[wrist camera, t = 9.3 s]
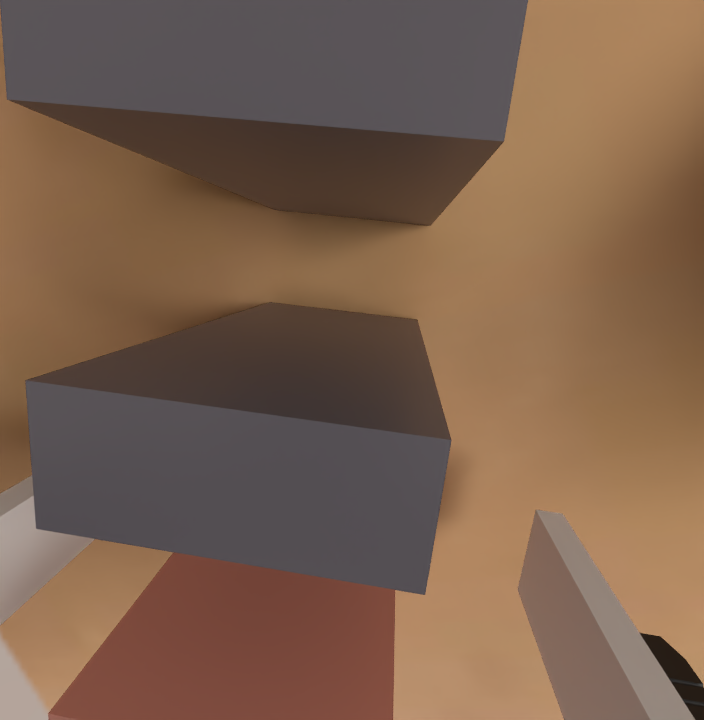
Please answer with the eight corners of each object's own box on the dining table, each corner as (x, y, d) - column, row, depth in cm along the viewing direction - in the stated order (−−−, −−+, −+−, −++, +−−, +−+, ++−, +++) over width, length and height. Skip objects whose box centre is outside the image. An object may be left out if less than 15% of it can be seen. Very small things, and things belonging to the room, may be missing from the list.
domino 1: (279, 143, 14) (-11, -142, 4) (440, 157, 13) (548, -122, 4) (275, 209, 14) (8, 100, 4) (430, 225, 14) (503, 140, 4)
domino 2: (270, 302, 15) (25, 380, 5) (417, 319, 14) (451, 439, 5) (266, 359, 15) (36, 529, 6) (409, 377, 15) (424, 594, 5)
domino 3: (390, 509, 16) (373, 887, 6) (258, 488, 16) (54, 813, 7) (397, 460, 16) (391, 784, 6) (261, 439, 16) (48, 713, 6)
